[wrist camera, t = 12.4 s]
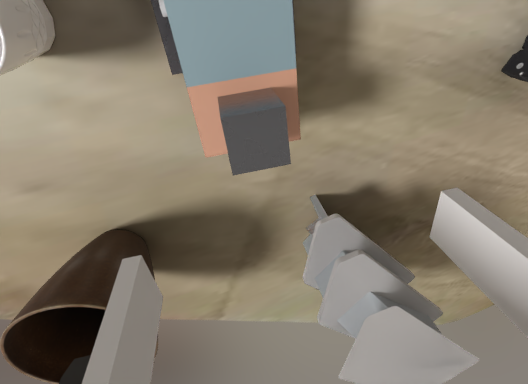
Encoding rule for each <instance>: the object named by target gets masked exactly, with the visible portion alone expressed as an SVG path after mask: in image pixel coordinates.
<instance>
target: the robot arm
mask: <svg viewBox="0 0 528 384" xmlns="http://www.w3.org/2000/svg"><path fill="white" fill-rule="evenodd" d="M430 238H431V239H432V240H433V241H434V242H435V243H436V244H437V245H438V246H439V247H440V249H441V250H442V251H443V252H444V253H445V254H446V255H447V256H448V257H449V258H450V259H451V260H452V261H453V262H454V263H455V264H456V265H457V266H458V267H459V268H460V269H461V270H462V271H463V272H464V273H465V274H466V275H467V276H468V277H469V278H470V279H471V280H472V281H473V283H474V284H475V285H476V286H477V287H478V288H479V289H480V290H481V291H482V292H483V293H484V294H485V295H486V296H487V297H488V298H489V299H490V300H491V301H492V302H493V303H494V304H495V305H496V306H497V307H498V308H499V309H500V310H501V311H502V312H503V313H504V314H505V315H506V317H507V318H508V319H509V320H510V321H511V322H512V323H513V324H514V325H515V326H516V327H517V328H518V329H519V330H520V331H521V332H522V333H523V334H524V335H525V336H526V337H527V338H528V238H527V237H525V236H524V235H523V234H521V233H520V232H518V231H517V230H516V229H514V228H513V227H511V226H510V225H509V224H507V223H506V222H504V221H503V220H502V219H500V218H499V217H498V216H496V215H495V214H493V213H492V212H491V211H489V210H488V209H486V208H485V207H484V206H482V205H481V204H479V203H478V202H477V201H475V200H474V199H473V198H471V197H470V196H468V195H467V194H466V193H464V192H463V191H461V190H460V189H459V188H453V189H449V190H444V191H441V194H440V198H439V202H438V206H437V210H436V213H435V217H434V221H433V225H432V229H431V233H430ZM162 301H163V296H162V294H161V292H160V290H159V288H158V286H157V284H156V282H155V280H154V278H153V276H152V275H151V273H150V271H149V269H148V267H147V265H146V263H145V261H144V259H143V257H142V255H139V256H134V257H130V258H125V259H122V262H121V265H120V268H119V271H118V274H117V277H116V280H115V283H114V286H113V289H112V292H111V296H110V299H109V302H108V305H107V308H106V311H105V314H104V317H103V320H102V323H101V326H100V329H99V332H98V335H97V338H96V341H95V345H94V348H93V351H92V354H91V355H89V356H85V357H80V358H76V359H74V360H73V362H72V363H71V364H70V366H69V367H68V369H67V370H66V371H65V373H64V374H63V376H62V377H61V379H60V382H59V384H150V383H151V377H152V370H153V363H154V356H155V349H156V342H157V335H158V328H159V321H160V314H161V308H162Z"/></svg>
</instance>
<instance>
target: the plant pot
mask: <svg viewBox="0 0 528 384" xmlns="http://www.w3.org/2000/svg"><path fill="white" fill-rule="evenodd" d="M139 255H142V257H143V259H144V261H145V263H146V265H147V267H148V269H149V271H150V273H151V275H152V276H153V278H154V272H153V267H152V263H151V259H150V255H149V252H148V248H147V245H146V243H145V242H144V240H143V239H142V238H141V237H140V236H138V235H137V234H135V233H133V232H130V231H126V230H111V231H107V232H105V233H103V234H101V235H100V236H98V237H97V238H96V239H94V240H93V241H91V242H90V243H89V244H88V245H86V246H85V247H84V248H82V249H81V250H80V251H79V252H78V253H76V254H75V255H74V256H73V257H72V258H71V259H70V260H69V261H67V262H66V263H65V264H64V265H63V266H62V267H61V268H60V269H59V270H58V271H57V272H56V273H55V274H54V275H53V276H52V277H51V278H50V279H49V280H48V281H47V282H46V283H45V284H44V285H43V286H42V287H41V288H40V289H39V291H38V292H37V293H36V294H35V295H34V296H33V297H32V298H31V299H30V301H29V302H28V303H27V304H26V305H25V306H24V308H23V309H22V310H21V311H20V312H19V314H18V315H17V316H16V317H15V318H14V320H13V321H12V322H11V323H10V324H9V326H8V327H7V328H6V330H5V331H4V333H3V334H2V337H1V340H0V348H1V352H2V354H3V356H4V358H5V359H6V361H7V362H8V363H9V364H10V365H11V366H12V367H14V368H15V369H16V370H18V371H20V372H21V373H23V374H25V375H27V376H29V377H32V378H34V379H38V380H40V381H44V382H48V383H53V384H59V382H60V379H61V377H62V376H63V374H64V373H65V371H66V370H67V369H68V367H69V366H70V364H71V363H72V362H73V360H74V359H76V358H80V357H85V356H89V355H91V354H92V351H93V348H94V345H95V341H96V338H97V335H98V332H99V329H100V326H101V323H102V320H103V317H104V314H105V311H106V308H107V305H108V302H109V299H110V296H111V292H112V289H113V286H114V283H115V280H116V277H117V274H118V271H119V268H120V265H121V262H122V259H125V258H130V257H134V256H139ZM154 280H155V278H154ZM157 350H158V335H157V342H156V349H155V356H156V354H157ZM155 356H154V358H155Z"/></svg>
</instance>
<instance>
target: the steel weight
mask: <svg viewBox="0 0 528 384" xmlns="http://www.w3.org/2000/svg"><path fill="white" fill-rule="evenodd" d="M218 105H219V112H220V119H221V123H222V128H223V132H224V137H225V142H226V146H227V151H228V155H229V160H230V164H231V169H232V173H233V175H237V174H242V173H247V172H253V171H258V170H263V169H268V168H273V167H278V166H283V165H288V164H291V162H290V150H289V139H288V128H287V116H286V106H285V105H284V103H283V102H282V101H281V100H280V98H279V97H278V96H277V95H276V93H275V92H274V91H273V90H272V88H271V87H270V88H265V89H259V90H253V91H248V92H242V93H237V94H231V95H225V96H220V97H218Z"/></svg>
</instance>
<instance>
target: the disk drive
mask: <svg viewBox="0 0 528 384" xmlns="http://www.w3.org/2000/svg"><path fill="white" fill-rule="evenodd" d="M522 48H523V50H520V51H519V52H518V53H516V54H514V55H512V57H511V58H510V60H509V61H508V62H507V64H506V65H505V66H504V67H503V69H502V72H503V73H505V74H507V75H508V76H510V77H512V78H516V79H519V80H522V81H526V82H528V36H527V37H526V40H525V43H524V45H523V47H522Z"/></svg>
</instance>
